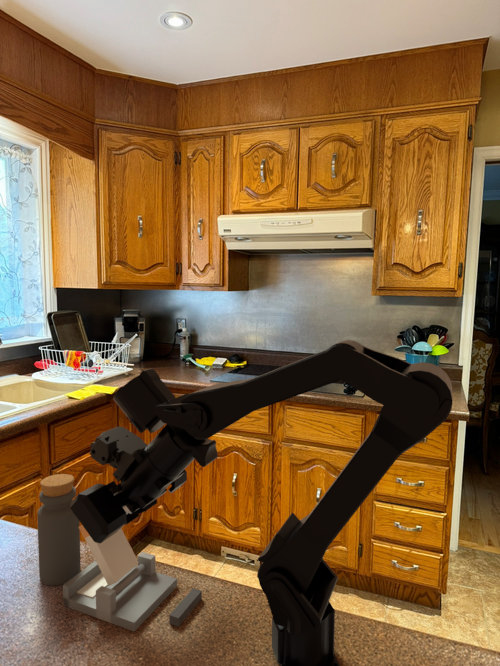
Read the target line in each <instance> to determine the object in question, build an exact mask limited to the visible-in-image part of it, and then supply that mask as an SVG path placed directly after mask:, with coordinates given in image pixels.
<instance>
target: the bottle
mask: <svg viewBox="0 0 500 666" xmlns="http://www.w3.org/2000/svg"><path fill="white" fill-rule="evenodd" d="M74 477H75V476H73V475H72V474H69V473H68V474H67V473H58V474H57V473H56V474H52V475H49V476H46V477H45V478H43V479H42V480H41V481H40V487H41V491H40V492H39V495H38V497H39V498H38V499H39V502H40V504H42V505H41V506H40V507H39V508H38V510H37V512H36V513H37V514H36V515H37V544H38V545H37V547H38V548H37V549H38V550H37V551H38V569H39V570H38V571H39V572H38V573H39V581H40V582H41V583H42V584H43V585H46V586H61V585H62V586H63V585H64V584H65V583H66V582H68V581H69V580H70V579H72V578H73V577H74V576H76V575H77V574H78V573H80V572H81V531H80V529H79V526H81V525H80V521H79V520H78V518H77V517H76V516H75V514H74V513H73V511H72V510H71V509H70V505H71V502H72V501H73V499H74V498H75V497H76V496H77V490H76V487H75V486H74V482H75V478H74Z"/></svg>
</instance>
